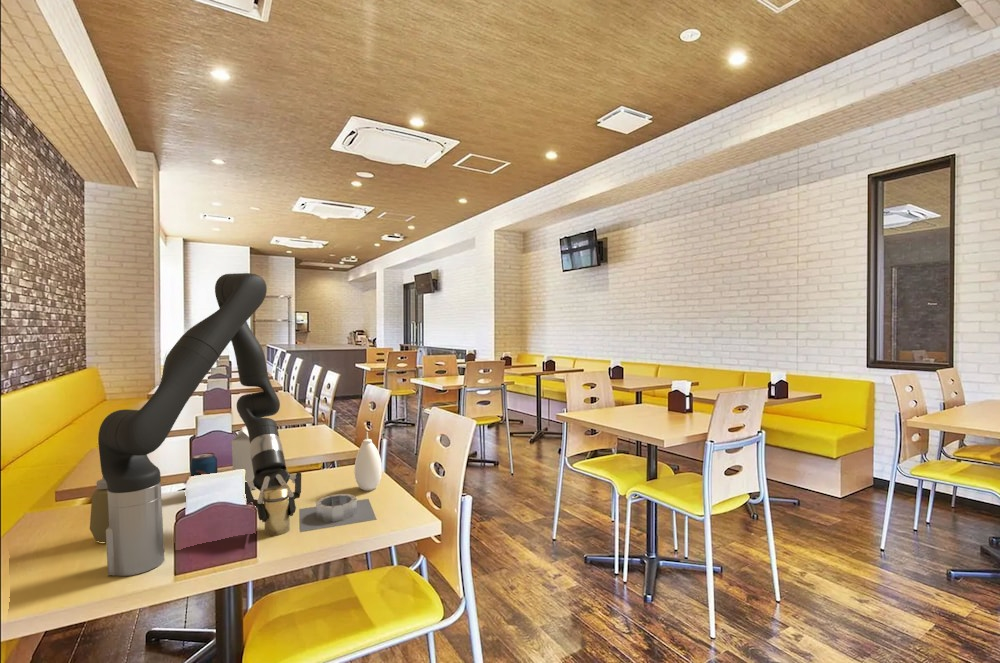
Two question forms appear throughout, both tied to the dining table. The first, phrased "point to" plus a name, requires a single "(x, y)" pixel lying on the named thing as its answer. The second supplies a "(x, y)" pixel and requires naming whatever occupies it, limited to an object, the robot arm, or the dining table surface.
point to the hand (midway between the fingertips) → (278, 517)
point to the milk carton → (242, 454)
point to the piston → (276, 510)
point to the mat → (312, 523)
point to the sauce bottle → (368, 466)
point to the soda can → (203, 464)
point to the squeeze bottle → (99, 511)
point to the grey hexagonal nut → (336, 507)
